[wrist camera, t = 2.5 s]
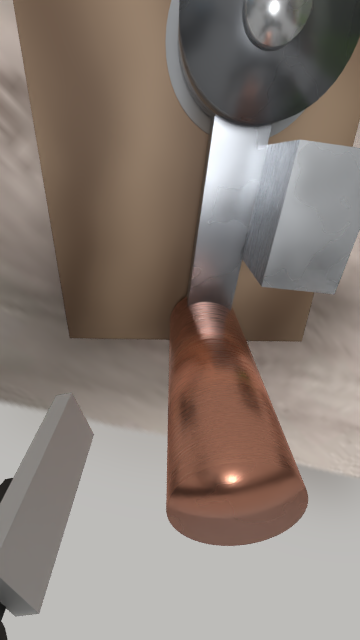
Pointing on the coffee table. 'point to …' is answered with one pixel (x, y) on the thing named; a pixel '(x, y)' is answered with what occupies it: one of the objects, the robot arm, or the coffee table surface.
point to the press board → (141, 165)
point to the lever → (252, 251)
